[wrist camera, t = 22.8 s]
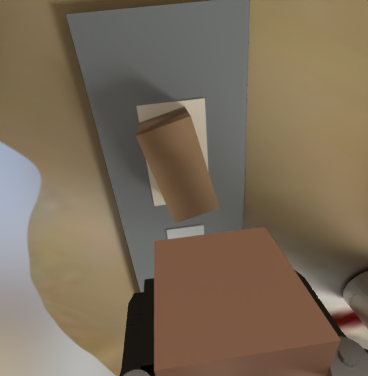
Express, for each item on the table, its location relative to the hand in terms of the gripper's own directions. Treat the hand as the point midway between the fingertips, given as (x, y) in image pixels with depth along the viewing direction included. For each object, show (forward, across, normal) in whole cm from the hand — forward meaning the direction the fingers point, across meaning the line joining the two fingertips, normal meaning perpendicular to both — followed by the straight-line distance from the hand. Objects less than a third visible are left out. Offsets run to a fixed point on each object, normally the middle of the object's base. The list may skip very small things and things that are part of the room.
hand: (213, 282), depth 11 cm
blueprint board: (+19, 0, +5) cm, 20 cm away
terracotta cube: (0, 0, 0) cm, 0 cm away
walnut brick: (+18, 0, 0) cm, 18 cm away
